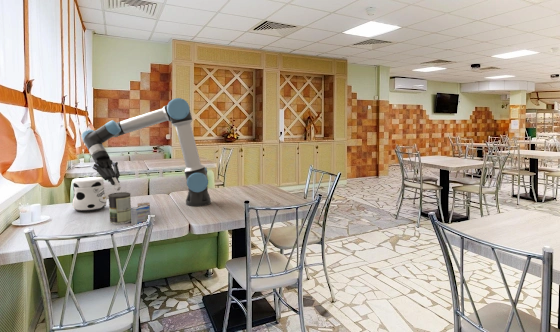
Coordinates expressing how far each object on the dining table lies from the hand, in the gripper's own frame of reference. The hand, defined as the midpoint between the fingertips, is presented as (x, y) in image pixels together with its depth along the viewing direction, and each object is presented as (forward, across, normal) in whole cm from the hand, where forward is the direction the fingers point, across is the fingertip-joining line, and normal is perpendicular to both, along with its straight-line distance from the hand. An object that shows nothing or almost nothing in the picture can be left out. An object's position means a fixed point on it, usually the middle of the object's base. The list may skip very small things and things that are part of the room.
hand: (118, 188), depth 175 cm
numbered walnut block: (+14, -12, -10) cm, 21 cm away
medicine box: (+21, -3, -3) cm, 22 cm away
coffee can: (+12, 0, -12) cm, 17 cm away
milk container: (-14, -3, -38) cm, 41 cm away
